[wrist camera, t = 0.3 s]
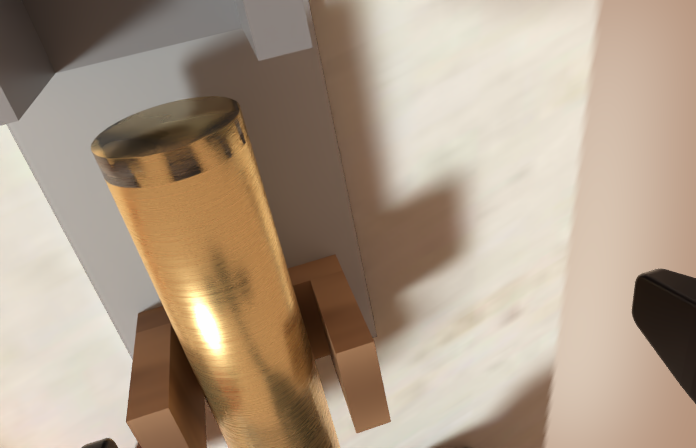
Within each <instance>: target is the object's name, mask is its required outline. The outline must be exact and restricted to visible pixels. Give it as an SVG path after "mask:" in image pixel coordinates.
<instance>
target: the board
mask: <svg viewBox="0 0 696 448" xmlns="http://www.w3.org/2000/svg"><path fill="white" fill-rule="evenodd" d="M303 3H304V8H305V13H306V18H307V22H308V27H309V32H310V37H311V41H312V46H313V48H309V49H305V50H301V51H297V52H293V53H289V54H285V55H281V56H277V57H273V58H269V59H265V60H261V61H258V59H257V57H256V55H255V53H254V51H253V49H252V47H251V45H250V43H249V41H248V39H247V37H246V35H245V33H244V31H243V29H242V28H241V29H237V30H233V31H229V32H225V33H221V34H216V35H212V36H208V37H204V38H200V39H196V40H191V41H187V42H183V43H179V44H175V45H171V46H167V47H162V48H158V49H154V50H150V51H146V52H142V53H138V54H133V55H129V56H125V57H121V58H117V59H113V60H108V61H104V62H100V63H96V64H92V65H88V66H84V67H79V68H75V69H71V70H67V71H63V72H59V73H55V75H54V76H53V77H52V78H51V80H50V81H49V82H48V84H47V85H46V86H45V87H44V89H43V90H42V91H41V93H40V94H39V95H38V96H37V98H36V99H35V100H34V102H33V103H32V104H31V106H30V107H29V108H28V109H27V111H26V112H25V113H24V115H23V116H22V117H21V118H20V120H19V121H16V122H12V123H8V124H7V126H8V128H9V130H10V132H11V134H12V136H13V137H14V139H15V141H16V143H17V145H18V147H19V149H20V150H21V152H22V154H23V156H24V158H25V160H26V162H27V164H28V165H29V167H30V169H31V171H32V173H33V175H34V177H35V178H36V180H37V182H38V184H39V186H40V188H41V190H42V192H43V193H44V195H45V197H46V199H47V201H48V203H49V205H50V207H51V208H52V210H53V212H54V214H55V216H56V218H57V220H58V221H59V223H60V225H61V227H62V229H63V231H64V233H65V235H66V236H67V238H68V240H69V242H70V244H71V246H72V248H73V249H74V251H75V253H76V255H77V257H78V259H79V261H80V263H81V264H82V266H83V268H84V270H85V272H86V274H87V276H88V277H89V279H90V281H91V283H92V285H93V287H94V289H95V291H96V292H97V294H98V296H99V298H100V300H101V302H102V304H103V305H104V307H105V309H106V311H107V313H108V315H109V317H110V319H111V320H112V322H113V324H114V326H115V328H116V330H117V332H118V333H119V335H120V337H121V339H122V341H123V343H124V345H125V347H126V348H127V350H128V352H129V354H130V356H131V358H132V360H133V354H134V344H135V335H136V326H137V317H138V313H141V312H144V311H148V310H151V309H154V308H158V307H161V306H163V305H162V302H161V300H160V298H159V296H158V294H157V292H156V289H155V287H154V285H153V283H152V281H151V279H150V276H149V274H148V272H147V270H146V268H145V266H144V263H143V261H142V259H141V257H140V255H139V253H138V250H137V248H136V246H135V244H134V242H133V240H132V237H131V235H130V233H129V231H128V229H127V227H126V224H125V222H124V220H123V218H122V216H121V214H120V211H119V209H118V207H117V205H116V203H115V201H114V198H113V196H112V194H111V192H110V190H109V188H108V185H107V183H106V181H105V179H104V177H103V175H102V172H101V170H100V168H99V166H98V164H97V162H96V159H95V157H94V155H93V153H92V151H91V144H92V142H93V140H94V139H95V138H96V137H97V136H98V135H99V134H100V133H101V132H103V131H104V130H105V129H107V128H108V127H110V126H111V125H113V124H115V123H117V122H118V121H120V120H122V119H124V118H126V117H129V116H131V115H133V114H136V113H138V112H141V111H143V110H146V109H149V108H152V107H155V106H158V105H162V104H165V103H169V102H173V101H178V100H183V99H189V98H196V97H207V96H219V97H227V98H231V99H233V100H235V101H237V102H238V103H239V105H240V108H241V111H242V114H243V118H244V121H245V125H246V128H247V131H248V135H249V138H250V142H251V145H252V149H253V152H254V155H255V159H256V162H257V166H258V169H259V172H260V176H261V179H262V183H263V186H264V189H265V193H266V196H267V200H268V203H269V206H270V210H271V213H272V217H273V220H274V224H275V227H276V230H277V234H278V237H279V241H280V244H281V247H282V251H283V254H284V258H285V261H286V264H287V268H291V267H295V266H298V265H301V264H305V263H308V262H311V261H315V260H318V259H321V258H325V257H328V256H331V255H335V254H336V257H337V259H338V261H339V263H340V266H341V268H342V270H343V272H344V275H345V277H346V279H347V282H348V284H349V286H350V288H351V291H352V293H353V295H354V297H355V300H356V302H357V304H358V306H359V309H360V311H361V313H362V315H363V318H364V320H365V322H366V324H367V327H368V329H369V331H370V333H371V336H372V338H374V337H377V334H376V329H375V324H374V319H373V314H372V309H371V304H370V299H369V295H368V290H367V285H366V280H365V275H364V270H363V265H362V260H361V255H360V250H359V245H358V241H357V236H356V231H355V226H354V221H353V216H352V211H351V206H350V201H349V196H348V191H347V187H346V182H345V177H344V172H343V167H342V162H341V157H340V152H339V147H338V142H337V137H336V133H335V128H334V123H333V118H332V113H331V108H330V103H329V98H328V93H327V88H326V83H325V79H324V74H323V69H322V64H321V59H320V54H319V49H318V44H317V39H316V34H315V29H314V25H313V20H312V15H311V10H310V5H309V0H303Z"/></svg>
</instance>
